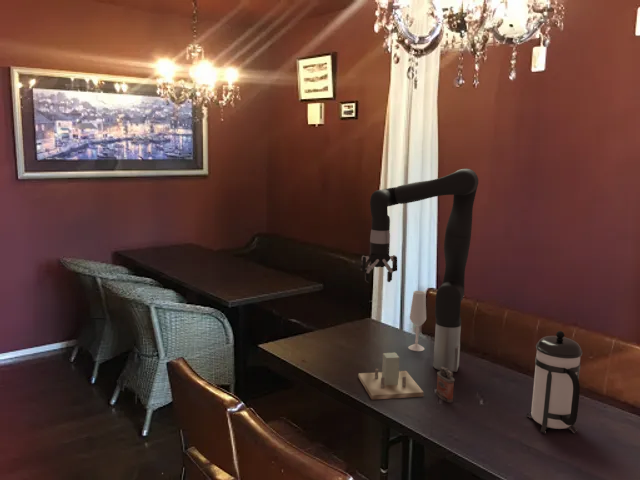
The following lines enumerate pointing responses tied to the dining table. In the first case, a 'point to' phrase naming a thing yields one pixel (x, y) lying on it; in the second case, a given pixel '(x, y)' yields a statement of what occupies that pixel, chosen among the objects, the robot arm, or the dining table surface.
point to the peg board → (390, 386)
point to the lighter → (445, 384)
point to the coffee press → (556, 382)
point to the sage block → (390, 368)
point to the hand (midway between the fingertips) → (378, 281)
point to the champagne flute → (418, 316)
